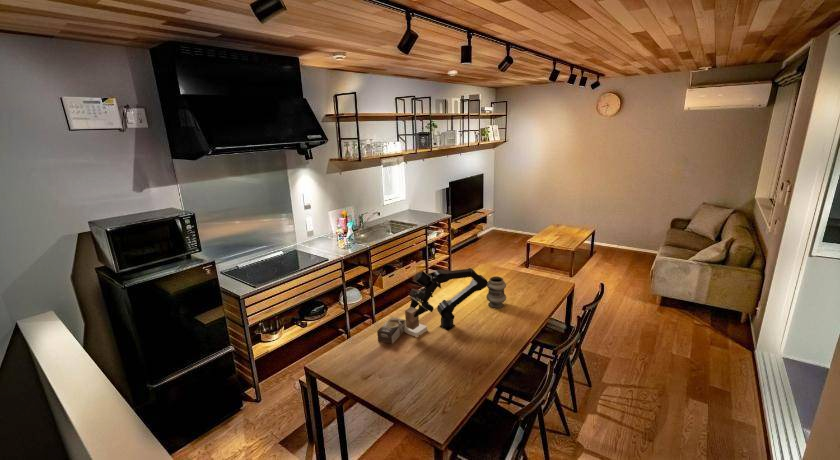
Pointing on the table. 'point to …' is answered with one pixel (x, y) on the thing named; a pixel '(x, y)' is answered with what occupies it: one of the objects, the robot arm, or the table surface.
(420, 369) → the table surface
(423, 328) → the base plinth
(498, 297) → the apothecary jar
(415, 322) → the walnut block
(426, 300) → the robot arm
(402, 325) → the coffee box
